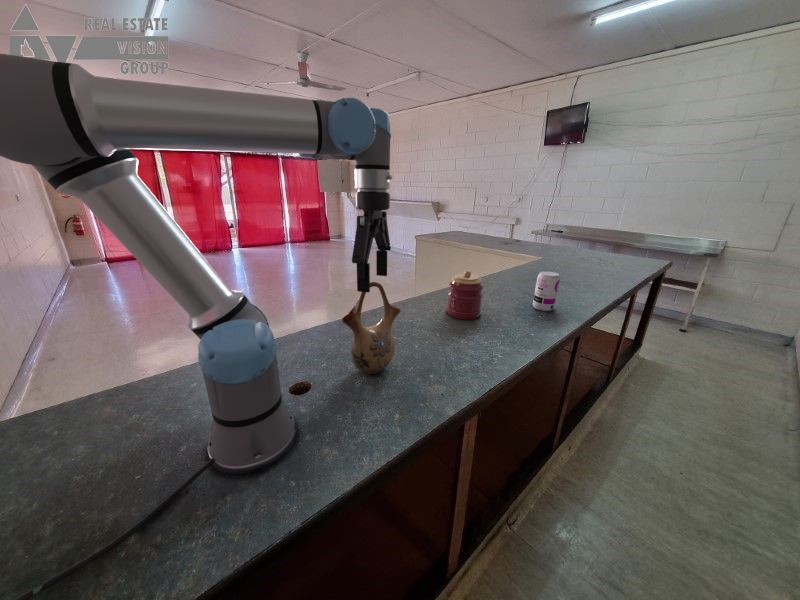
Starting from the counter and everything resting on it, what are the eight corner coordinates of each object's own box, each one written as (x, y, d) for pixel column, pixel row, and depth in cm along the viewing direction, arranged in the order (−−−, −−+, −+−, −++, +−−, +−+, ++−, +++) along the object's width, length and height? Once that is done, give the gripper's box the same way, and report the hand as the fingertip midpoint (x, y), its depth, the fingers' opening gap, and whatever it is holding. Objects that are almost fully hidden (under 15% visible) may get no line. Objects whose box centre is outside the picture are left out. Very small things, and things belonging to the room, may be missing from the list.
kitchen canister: (487, 315, 123) (492, 272, 117) (463, 323, 116) (468, 276, 110) (463, 305, 133) (467, 264, 127) (439, 311, 126) (443, 268, 120)
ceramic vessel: (352, 388, 78) (349, 292, 69) (338, 370, 85) (333, 281, 76) (407, 369, 86) (411, 282, 77) (390, 355, 93) (392, 273, 84)
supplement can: (554, 306, 134) (561, 272, 129) (551, 313, 127) (559, 277, 122) (534, 302, 138) (540, 269, 133) (530, 308, 132) (536, 273, 126)
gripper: (369, 192, 57) (371, 301, 65) (402, 190, 80) (400, 271, 87) (331, 191, 59) (337, 298, 66) (374, 189, 82) (375, 268, 89)
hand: (373, 283), depth 77 cm, fingers open, 13 cm apart
